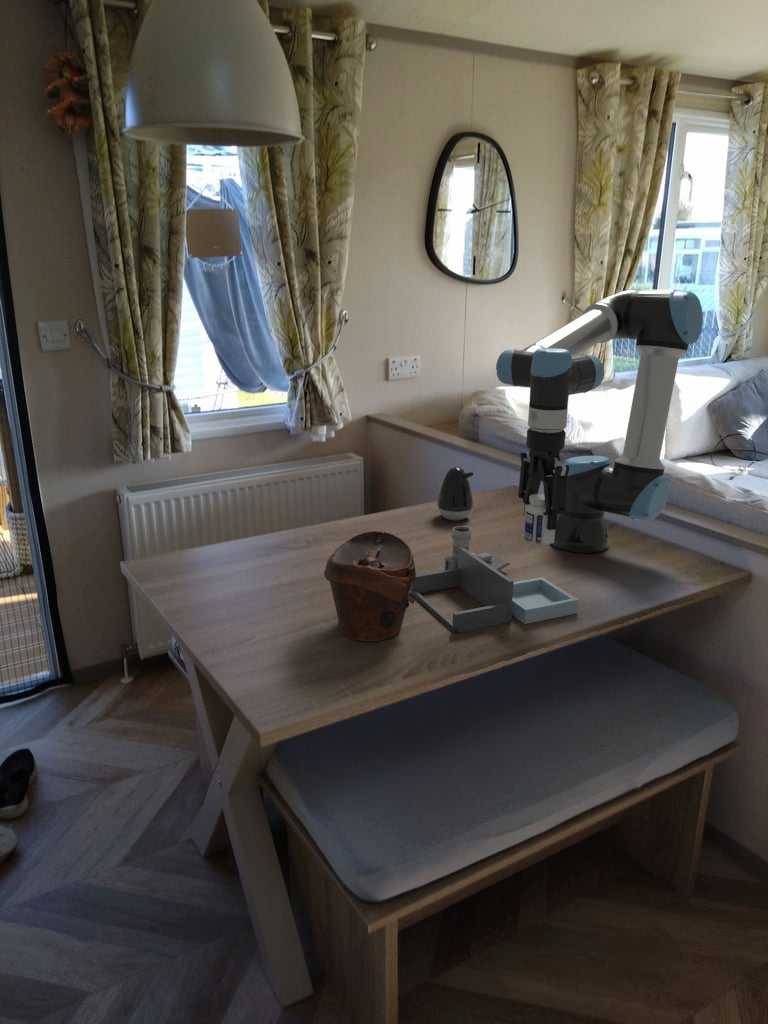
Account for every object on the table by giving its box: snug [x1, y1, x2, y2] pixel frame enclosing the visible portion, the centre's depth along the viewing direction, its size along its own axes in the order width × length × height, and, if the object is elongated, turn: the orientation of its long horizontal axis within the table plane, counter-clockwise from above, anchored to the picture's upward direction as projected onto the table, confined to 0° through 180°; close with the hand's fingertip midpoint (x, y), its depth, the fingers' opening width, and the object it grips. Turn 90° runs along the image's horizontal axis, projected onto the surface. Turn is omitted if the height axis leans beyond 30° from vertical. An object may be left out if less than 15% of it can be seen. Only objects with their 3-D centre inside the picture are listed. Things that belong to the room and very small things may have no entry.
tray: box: [511, 576, 579, 625], centre depth 160 cm, size 13×13×3 cm
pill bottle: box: [523, 493, 552, 547], centre depth 154 cm, size 6×6×10 cm
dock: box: [409, 547, 515, 634], centre depth 158 cm, size 21×13×9 cm, turn 23°
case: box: [323, 530, 417, 643], centre depth 147 cm, size 18×20×18 cm
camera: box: [443, 525, 510, 572], centre depth 176 cm, size 9×12×15 cm
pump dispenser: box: [436, 466, 474, 522], centre depth 214 cm, size 10×10×15 cm
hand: (538, 538), depth 155 cm, fingers closed on pill bottle, 6 cm apart
